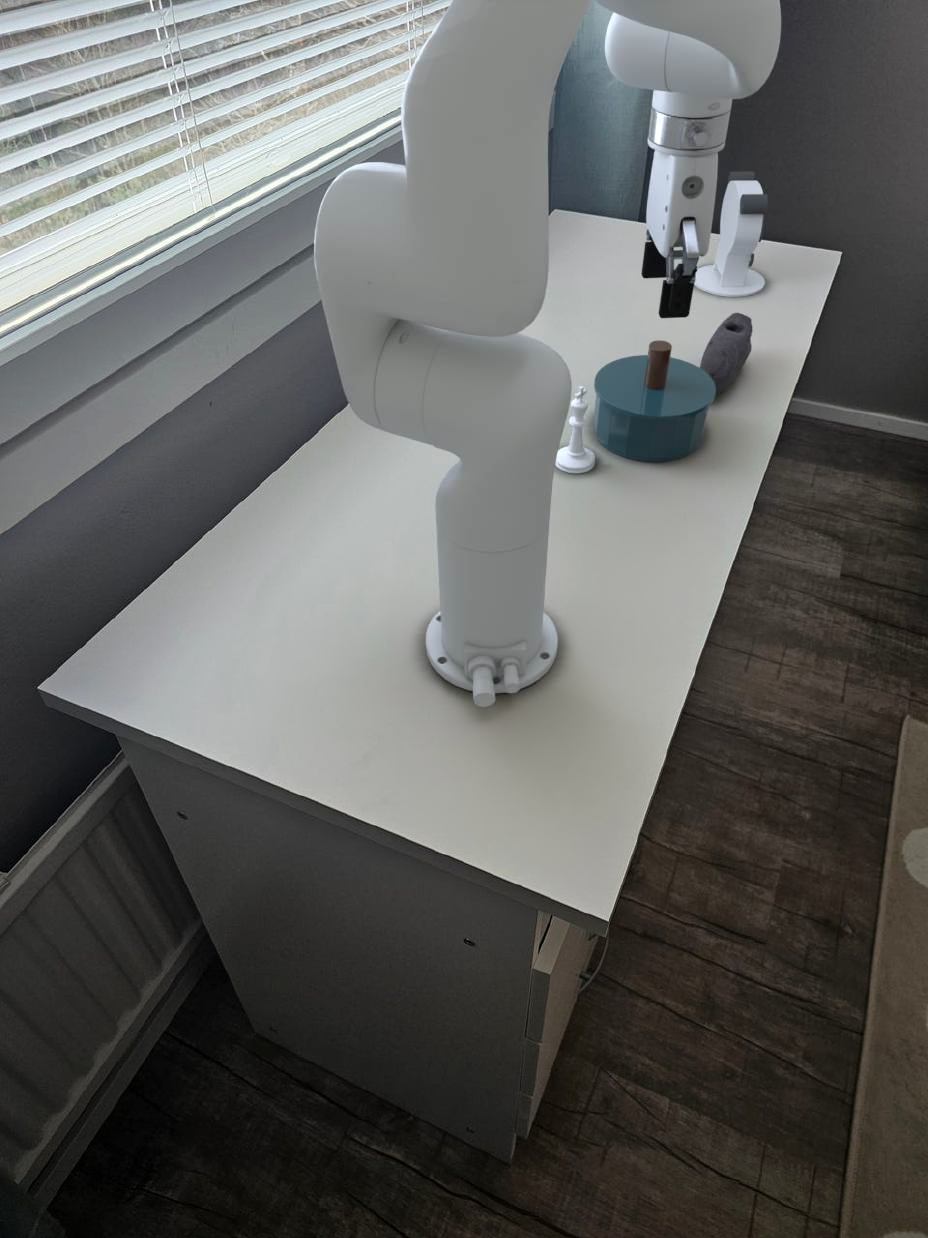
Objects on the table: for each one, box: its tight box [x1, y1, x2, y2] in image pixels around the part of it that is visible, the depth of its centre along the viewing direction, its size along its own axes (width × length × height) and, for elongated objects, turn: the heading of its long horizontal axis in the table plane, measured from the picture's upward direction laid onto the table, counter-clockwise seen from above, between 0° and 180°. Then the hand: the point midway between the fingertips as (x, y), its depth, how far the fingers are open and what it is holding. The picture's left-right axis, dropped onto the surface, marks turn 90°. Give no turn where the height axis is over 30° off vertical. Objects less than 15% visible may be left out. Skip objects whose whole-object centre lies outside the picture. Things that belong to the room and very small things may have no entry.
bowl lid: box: [593, 340, 716, 421], centre depth 105 cm, size 14×14×6 cm
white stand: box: [694, 171, 769, 298], centre depth 136 cm, size 12×11×15 cm
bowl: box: [593, 393, 710, 463], centre depth 109 cm, size 13×13×6 cm
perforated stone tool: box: [699, 312, 753, 397], centre depth 117 cm, size 15×5×7 cm, turn 150°
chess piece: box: [555, 385, 596, 474], centre depth 103 cm, size 5×5×10 cm
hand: (663, 295), depth 99 cm, fingers open, 9 cm apart
